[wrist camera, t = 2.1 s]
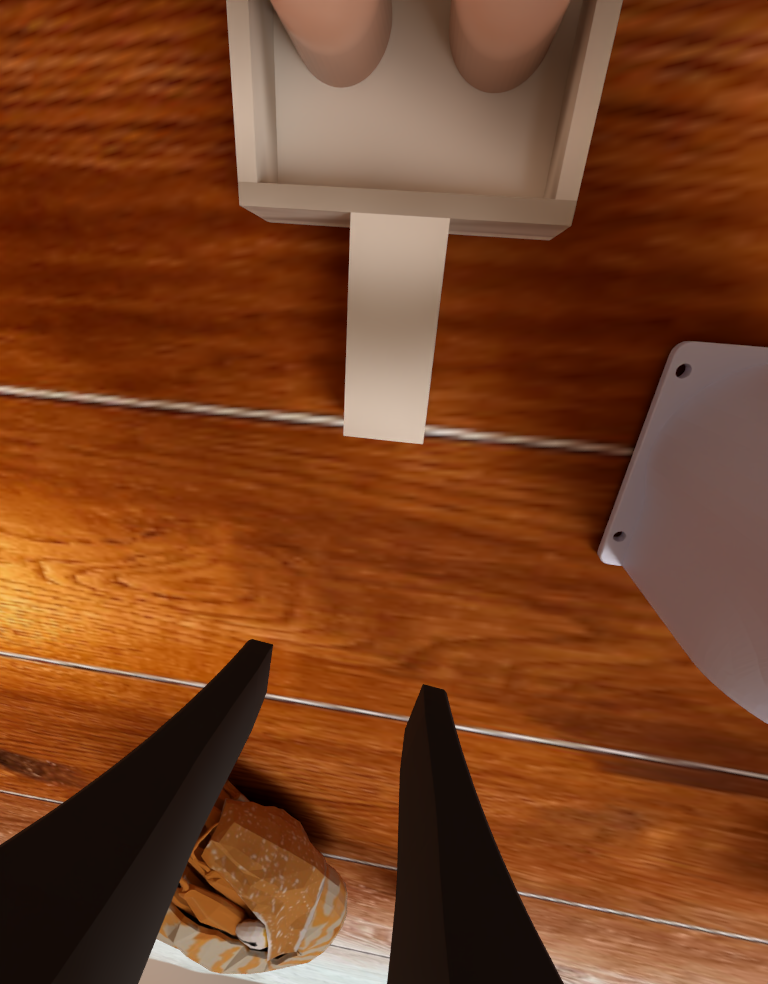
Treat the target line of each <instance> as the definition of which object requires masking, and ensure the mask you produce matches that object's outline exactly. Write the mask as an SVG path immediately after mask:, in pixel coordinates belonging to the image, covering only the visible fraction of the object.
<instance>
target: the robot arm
mask: <svg viewBox="0 0 768 984" xmlns="http://www.w3.org/2000/svg"><path fill="white" fill-rule="evenodd" d="M682 364H685V366H686V367H685V371H684V373H683V374H682V375H680V376H679V377H677V376H676V375H675V374H676V369H677V368H678V367H679V366H680V365H682ZM620 531H622V534H621V535H620V536H618V537H613V536H614V534H615V533H617V532H620ZM597 554H598V556H599V558H600V559H601V561H602V562H604V563H606V564H611V565H618V566H623V567H624V569H625V570H626V572H627V573H628V574H629V576H630V577H631V578H632V580H633V581H634V583H635V584H636V585H637V587H638V588H639V589H640V591H641V592H642V593H643V595H644V596H645V598H646V599H647V600H648V602H649V603H650V604H651V606H652V607H653V609H654V610H655V611H656V613H657V614H658V615H659V617H660V618H661V619H662V621H663V622H664V624H665V625H666V626H667V628H668V629H669V630H670V632H671V633H672V635H673V636H674V637H675V639H676V640H677V641H678V643H679V644H680V645H681V647H682V648H683V650H684V651H685V652H686V654H687V655H688V656H689V658H690V659H691V660H692V662H693V663H694V664H695V665H696V666H697V668H698V669H699V670H700V671H701V672H702V673H703V674H704V675H705V676H706V677H707V678H708V679H709V680H710V681H711V682H712V683H713V684H714V685H715V686H717V687H718V688H719V689H720V690H721V691H722V692H724V693H725V694H726V695H727V696H728V697H730V698H731V699H732V700H734V701H735V702H736V703H738V704H739V705H740V706H742V707H743V708H745V709H746V710H747V711H749V712H750V713H752V714H753V715H754V716H756V717H757V718H759V719H761V720H762V721H764V722H765V723H767V724H768V347H757V346H745V345H733V344H721V343H709V342H697V341H684V342H681V343H679V344H677V345H676V346H675V347H674V348H673V349H672V350H671V352H670V354H669V356H668V359H667V362H666V365H665V367H664V370H663V373H662V376H661V378H660V381H659V384H658V387H657V389H656V392H655V395H654V398H653V400H652V403H651V406H650V409H649V411H648V414H647V417H646V419H645V422H644V425H643V428H642V430H641V433H640V436H639V439H638V441H637V444H636V447H635V450H634V452H633V455H632V458H631V461H630V463H629V466H628V469H627V472H626V474H625V477H624V480H623V482H622V485H621V488H620V491H619V493H618V496H617V499H616V502H615V504H614V507H613V510H612V513H611V515H610V518H609V521H608V524H607V526H606V529H605V532H604V535H603V537H602V540H601V543H600V545H599V548H598V553H597ZM272 648H273V644H269V643H265V642H261V641H257V640H254V639H251V640H249V641H248V642H247V643H246V644H245V645H244V646H243V647H242V649H241V650H240V651H239V652H238V653H237V654H236V655H235V656H234V657H233V659H232V660H231V661H230V662H229V663H228V664H227V665H226V666H225V667H224V668H223V669H222V670H221V671H220V672H219V673H218V674H217V675H216V676H215V677H214V678H213V679H212V680H211V681H210V682H209V683H208V684H207V685H206V686H205V687H204V688H203V689H202V690H201V691H200V692H199V693H198V694H197V695H196V696H195V697H194V698H193V699H192V700H191V701H189V702H188V703H187V704H186V705H185V706H184V707H183V708H182V709H181V710H180V711H179V712H177V713H176V714H175V715H174V716H173V717H172V718H171V719H169V720H168V721H167V722H166V723H165V724H164V725H163V726H161V727H160V728H159V729H158V730H157V731H156V732H155V733H154V734H152V735H151V736H150V737H149V738H148V739H146V740H145V741H144V742H143V743H142V744H140V745H139V746H138V747H137V748H135V749H134V750H133V751H132V752H130V753H129V754H128V755H127V756H125V757H124V758H123V759H122V760H120V761H119V762H118V763H116V764H115V765H114V766H113V767H111V768H110V769H109V770H107V771H106V772H105V773H103V774H102V775H101V776H99V777H98V778H97V779H95V780H94V781H93V782H91V783H90V784H88V785H87V786H86V787H84V788H83V789H82V790H80V791H79V792H78V793H76V794H75V795H74V796H72V797H71V798H69V799H68V800H67V801H65V802H64V803H62V804H61V805H59V806H58V807H57V808H55V809H54V810H52V811H51V812H49V813H48V814H46V815H45V816H43V817H42V818H40V819H39V820H37V821H36V822H34V823H33V824H31V825H30V826H28V827H27V828H25V829H24V830H22V831H21V832H19V833H18V834H16V835H15V836H13V837H12V838H10V839H9V840H7V841H6V842H4V843H3V844H1V845H0V984H138V983H139V980H140V978H141V975H142V973H143V970H144V968H145V965H146V963H147V960H148V958H149V955H150V953H151V950H152V948H153V945H154V943H155V940H156V938H157V936H158V933H159V931H160V928H161V926H162V923H163V921H164V918H165V916H166V914H167V911H168V909H169V906H170V904H171V901H172V899H173V896H174V894H175V892H176V889H177V887H178V884H179V882H180V880H181V877H182V875H183V872H184V870H185V868H186V865H187V863H188V860H189V858H190V856H191V853H192V851H193V848H194V846H195V844H196V842H197V839H198V837H199V835H200V833H201V831H202V829H203V827H204V824H205V822H206V820H207V818H208V816H209V814H210V812H211V810H212V808H213V806H214V804H215V802H216V801H217V799H218V797H219V795H220V793H221V791H222V789H223V787H224V785H225V783H226V781H227V779H228V777H229V775H230V773H231V771H232V769H233V767H234V765H235V763H236V761H237V759H238V757H239V755H240V753H241V751H242V749H243V747H244V745H245V743H246V741H247V739H248V737H249V735H250V733H251V731H252V728H253V726H254V723H255V721H256V718H257V716H258V713H259V711H260V708H261V705H262V703H263V700H264V698H265V695H266V692H267V685H268V678H269V670H270V663H271V656H272ZM387 984H564V983H563V981H562V979H561V978H560V976H559V974H558V972H557V970H556V968H555V966H554V964H553V962H552V960H551V958H550V956H549V954H548V952H547V950H546V948H545V946H544V945H543V943H542V941H541V939H540V937H539V935H538V933H537V931H536V929H535V927H534V925H533V923H532V921H531V919H530V917H529V915H528V913H527V911H526V909H525V907H524V905H523V902H522V900H521V898H520V896H519V894H518V892H517V890H516V888H515V886H514V883H513V881H512V879H511V877H510V874H509V872H508V870H507V868H506V865H505V863H504V861H503V859H502V856H501V854H500V852H499V849H498V847H497V845H496V842H495V840H494V837H493V835H492V832H491V830H490V827H489V825H488V822H487V820H486V817H485V814H484V812H483V809H482V807H481V804H480V801H479V799H478V796H477V793H476V790H475V788H474V785H473V782H472V779H471V776H470V773H469V770H468V767H467V764H466V761H465V758H464V755H463V752H462V748H461V745H460V742H459V738H458V735H457V732H456V728H455V724H454V721H453V717H452V713H451V709H450V705H449V701H448V697H447V693H446V692H445V690H443V689H439V688H436V687H432V686H428V685H424V684H423V685H422V688H421V690H420V693H419V696H418V698H417V701H416V703H415V706H414V708H413V711H412V713H411V716H410V718H409V721H408V723H407V726H406V728H405V734H404V742H403V750H402V758H401V767H400V788H399V824H398V862H397V886H396V902H395V912H394V922H393V932H392V943H391V953H390V962H389V972H388V981H387Z"/></svg>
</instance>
